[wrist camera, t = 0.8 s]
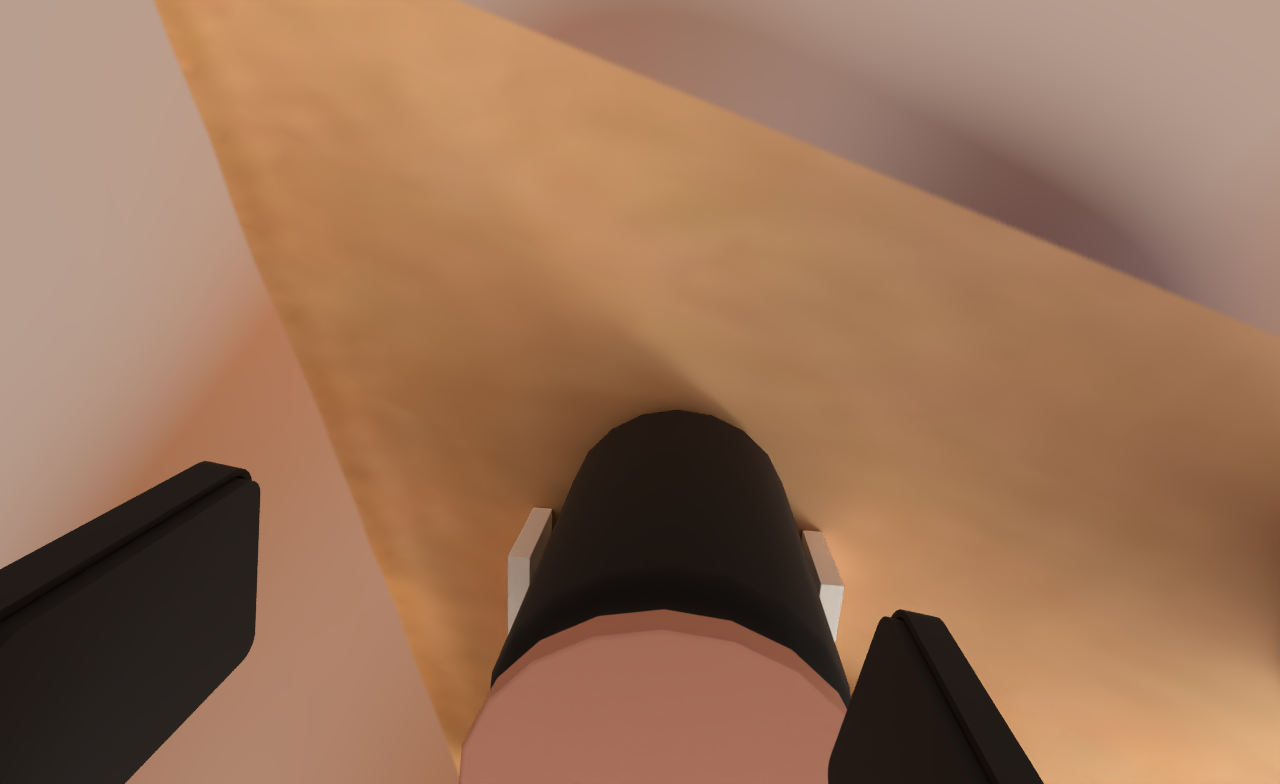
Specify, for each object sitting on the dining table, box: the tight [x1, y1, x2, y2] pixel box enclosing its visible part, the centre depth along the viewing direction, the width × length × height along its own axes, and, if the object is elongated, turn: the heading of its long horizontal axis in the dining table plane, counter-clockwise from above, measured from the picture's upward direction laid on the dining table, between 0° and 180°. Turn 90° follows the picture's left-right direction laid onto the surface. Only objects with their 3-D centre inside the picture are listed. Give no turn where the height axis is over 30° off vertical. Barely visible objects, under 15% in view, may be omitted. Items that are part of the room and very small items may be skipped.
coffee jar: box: [459, 410, 851, 784], centre depth 25 cm, size 11×11×18 cm
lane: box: [508, 507, 844, 642], centre depth 30 cm, size 15×17×14 cm
